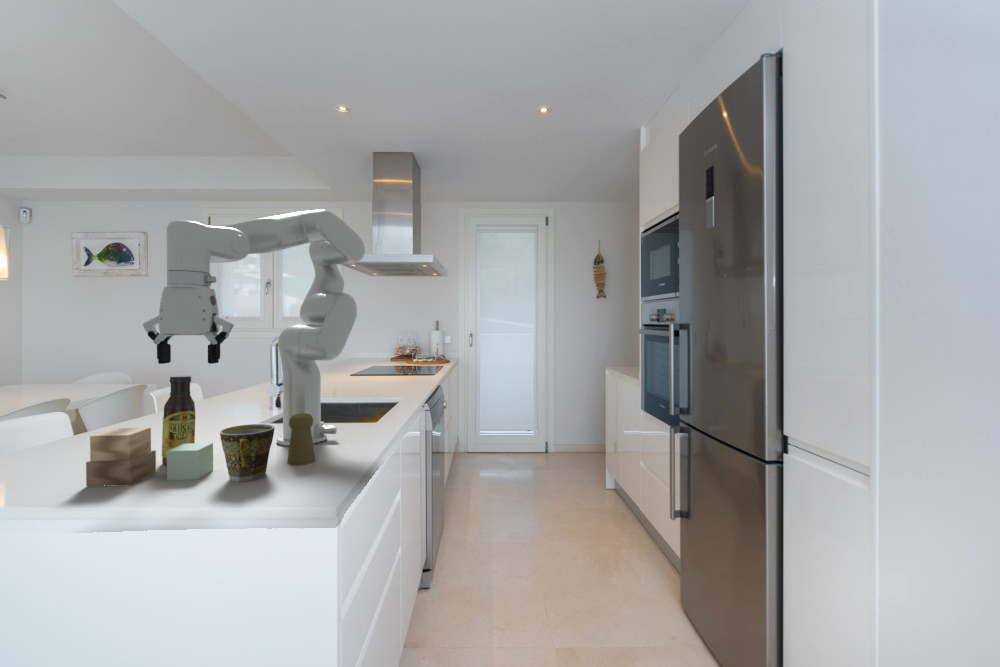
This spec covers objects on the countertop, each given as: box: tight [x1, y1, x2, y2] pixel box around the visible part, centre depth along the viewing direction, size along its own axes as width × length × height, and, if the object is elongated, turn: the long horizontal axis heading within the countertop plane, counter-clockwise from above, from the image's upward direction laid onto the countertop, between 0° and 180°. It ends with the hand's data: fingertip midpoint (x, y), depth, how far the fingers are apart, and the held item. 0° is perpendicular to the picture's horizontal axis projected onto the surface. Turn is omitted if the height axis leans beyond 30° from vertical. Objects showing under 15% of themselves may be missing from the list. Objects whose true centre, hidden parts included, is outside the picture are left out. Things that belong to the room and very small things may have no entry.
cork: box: [286, 413, 316, 466], centre depth 109 cm, size 6×6×11 cm
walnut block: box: [85, 450, 157, 487], centre depth 96 cm, size 8×8×5 cm
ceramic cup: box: [219, 423, 275, 483], centre depth 96 cm, size 13×10×10 cm
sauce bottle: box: [161, 375, 196, 466], centre depth 108 cm, size 7×6×20 cm
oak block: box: [89, 427, 152, 462], centre depth 96 cm, size 7×7×5 cm
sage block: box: [166, 442, 214, 481], centre depth 99 cm, size 6×6×6 cm
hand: (189, 363), depth 99 cm, fingers open, 9 cm apart
